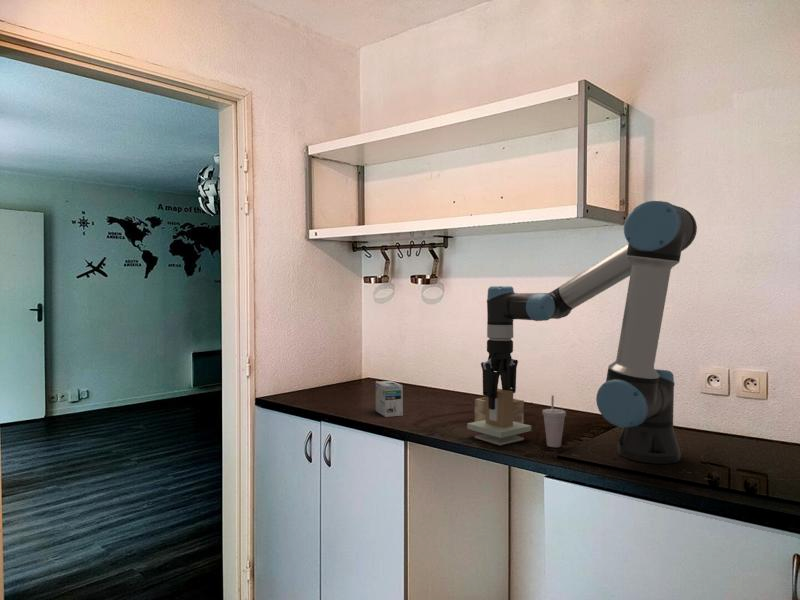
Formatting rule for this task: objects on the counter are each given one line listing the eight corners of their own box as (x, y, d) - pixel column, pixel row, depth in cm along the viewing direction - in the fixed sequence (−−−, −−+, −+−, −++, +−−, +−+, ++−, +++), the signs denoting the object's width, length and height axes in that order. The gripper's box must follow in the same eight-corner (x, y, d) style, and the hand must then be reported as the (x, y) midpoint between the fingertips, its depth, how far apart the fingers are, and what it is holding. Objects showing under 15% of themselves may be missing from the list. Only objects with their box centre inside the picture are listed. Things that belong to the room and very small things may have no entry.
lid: (531, 430, 163) (531, 391, 163) (500, 437, 156) (500, 396, 155) (497, 422, 174) (498, 385, 174) (467, 428, 166) (467, 389, 166)
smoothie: (537, 443, 160) (537, 394, 159) (556, 441, 162) (556, 392, 162) (551, 449, 154) (551, 398, 153) (570, 447, 156) (571, 396, 156)
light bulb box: (403, 416, 194) (403, 384, 193) (385, 417, 191) (385, 386, 191) (392, 409, 204) (392, 380, 203) (374, 411, 201) (374, 381, 201)
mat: (523, 439, 164) (523, 437, 164) (500, 445, 158) (500, 443, 158) (498, 432, 172) (498, 430, 172) (474, 437, 166) (474, 435, 166)
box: (523, 425, 181) (523, 400, 181) (500, 430, 174) (500, 404, 174) (497, 418, 190) (497, 395, 190) (474, 423, 183) (474, 398, 183)
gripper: (509, 336, 172) (509, 413, 173) (469, 339, 162) (469, 420, 162) (529, 338, 166) (528, 417, 167) (489, 341, 156) (488, 426, 156)
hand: (499, 419), depth 165 cm, fingers closed on lid, 4 cm apart
